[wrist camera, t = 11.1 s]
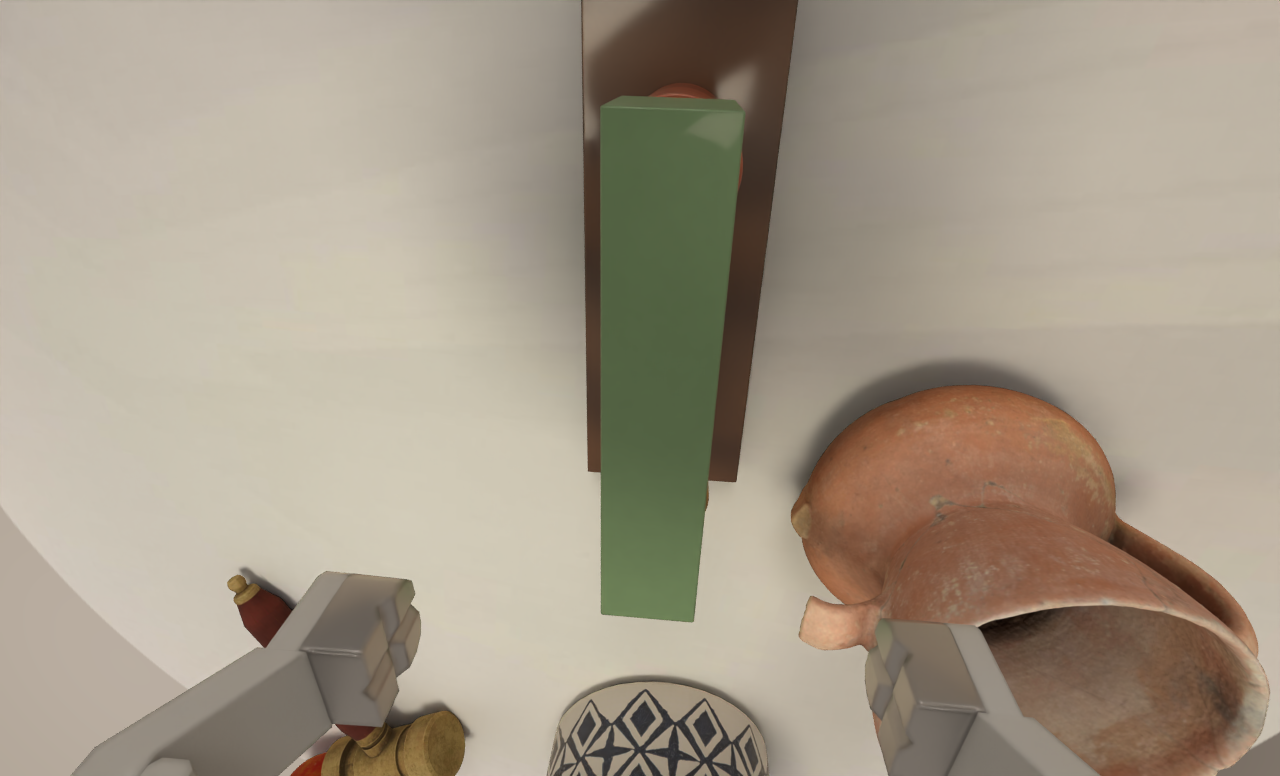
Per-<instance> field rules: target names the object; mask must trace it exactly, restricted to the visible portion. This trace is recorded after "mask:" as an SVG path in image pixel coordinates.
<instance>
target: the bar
mask: <svg viewBox="0 0 1280 776" xmlns="http://www.w3.org/2000/svg"><path fill="white" fill-rule="evenodd" d="M745 114H746V113H745V111H744V110H743V109H742V107H741V106H740V105H739V104H738V103H737V102H736V101H735V100H726V99H700V98H673V97H646V96H620V97H618V98H616V99H614V100H612V101H610V102H608V103H606V104H604V105H602V106H601V107H600V232H601V614H603V615H614V616H625V617H637V618H648V619H660V620H671V621H682V622H693V621H694V614H695V604H696V595H697V585H698V575H699V565H700V555H701V545H702V536H703V526H704V516H705V506H706V496H707V487H708V477H709V467H710V457H711V447H712V437H713V428H714V418H715V408H716V398H717V388H718V379H719V369H720V359H721V349H722V339H723V330H724V320H725V310H726V300H727V290H728V280H729V271H730V261H731V251H732V241H733V231H734V222H735V212H736V202H737V192H738V182H739V172H740V163H741V153H742V143H743V133H744V123H745Z"/></svg>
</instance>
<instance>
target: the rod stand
mask: <svg viewBox="0 0 1280 776" xmlns="http://www.w3.org/2000/svg"><path fill="white" fill-rule="evenodd" d="M797 5H798V0H581V19H582V90H583V161H584V232H585V303H586V375H587V446H588V471H589V472H601V232H600V107H601V106H602V105H604V104H606V103H608V102H610V101H612V100H614V99H616V98H618V97H620V96H646V97H673V98H700V99H726V100H735V101H736V102H737V103H738V104H739V105H740V106H741V107H742V109H743V110H744V111H745V113H746V114H745V123H744V133H743V143H742V153H741V163H740V172H739V182H738V192H737V202H736V212H735V222H734V231H733V241H732V251H731V261H730V271H729V280H728V290H727V300H726V310H725V320H724V330H723V339H722V349H721V359H720V369H719V379H718V388H717V398H716V408H715V418H714V428H713V437H712V447H711V457H710V467H709V477H708V480H710V481H724V482H736V480H737V472H738V464H739V456H740V449H741V441H742V433H743V425H744V418H745V410H746V402H747V394H748V386H749V379H750V371H751V363H752V355H753V348H754V340H755V332H756V324H757V316H758V309H759V301H760V293H761V285H762V278H763V270H764V262H765V254H766V247H767V239H768V231H769V223H770V215H771V208H772V200H773V192H774V184H775V177H776V169H777V161H778V153H779V145H780V138H781V130H782V122H783V114H784V107H785V99H786V91H787V83H788V75H789V68H790V60H791V52H792V44H793V37H794V29H795V21H796V13H797ZM708 500H709V486H708V487H707V496H706V506H705V511H706V508H707V506H708Z"/></svg>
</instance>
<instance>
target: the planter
mask: <svg viewBox="0 0 1280 776" xmlns="http://www.w3.org/2000/svg"><path fill="white" fill-rule="evenodd" d="M547 776H769V770H768V761H767V752H766V746H765V743H764V740H763V737H762V735H761V733H760V732H759V730H758V729H757V727H756V725H755V724H754V723H753V722H752V721H751V720H750V719H749V718H748V717H747V716H746V715H745V714H744V713H743V712H742V711H740V710H739V709H738V708H736V707H735V706H734V705H732V704H730V703H729V702H727V701H725V700H723V699H722V698H720V697H718V696H715V695H713V694H710V693H708V692H706V691H703V690H699V689H696V688H693V687H689V686H685V685H679V684H674V683H665V682H634V683H626V684H619V685H615V686H611V687H607V688H604V689H602V690H599V691H596V692H594V693H591V694H589V695H588V696H586V697H584V698H583V699H581V700H579V701H578V702H577V703H576V704H574V705H573V706H572V707H571V708H570V709H569V710H568V711H567V712H566V713H565V715H564V716H563V717H562V719H561V720H560V723H559V725H558V727H557V730H556V734H555V739H554V743H553V748H552V752H551V757H550V762H549V767H548V771H547Z"/></svg>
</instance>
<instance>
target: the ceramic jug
mask: <svg viewBox="0 0 1280 776" xmlns="http://www.w3.org/2000/svg"><path fill="white" fill-rule="evenodd" d="M1115 501H1116V495H1115V484H1114V478H1113V474H1112V471H1111V468H1110V465H1109V463H1108V461H1107V458H1106V456H1105V454H1104V452H1103V451H1102V449H1101V447H1100V446H1099V444H1098V443H1097V441H1096V440H1095V439H1094V437H1093V436H1092V435H1091V434H1090V433H1089V432H1088V431H1087V430H1086V429H1085V428H1084V427H1083V426H1082V425H1081V424H1080V423H1079V422H1077V421H1076V420H1075V419H1074V418H1072V417H1071V416H1070V415H1068V414H1067V413H1065V412H1064V411H1062V410H1060V409H1059V408H1057V407H1055V406H1053V405H1051V404H1049V403H1047V402H1045V401H1043V400H1040V399H1038V398H1035V397H1033V396H1030V395H1027V394H1024V393H1021V392H1017V391H1013V390H1008V389H1004V388H998V387H991V386H980V385H956V386H944V387H938V388H932V389H927V390H924V391H919V392H916V393H913V394H910V395H908V396H905V397H903V398H900V399H897V400H894V401H891V402H888V403H886V404H883V405H881V406H879V407H877V408H875V409H873V410H871V411H869V412H867V413H866V414H864V415H863V416H861V417H860V418H858V419H857V420H856V421H854V422H853V423H852V424H850V425H849V426H848V427H847V428H846V429H845V430H844V431H842V432H841V433H840V434H839V435H838V436H837V437H836V438H835V439H834V441H833V442H832V443H831V444H830V445H829V446H828V448H827V449H826V450H825V452H824V453H823V454H822V456H821V458H820V459H819V461H818V462H817V464H816V466H815V468H814V470H813V472H812V474H811V476H810V478H809V481H808V483H807V485H806V486H805V487H804V488H803V490H802V492H801V494H800V496H799V498H798V500H797V501H796V503H795V504H794V506H793V509H792V510H791V523H792V525H793V527H794V529H795V531H796V532H797V533H798V535H799V536H800V537H802V543H803V547H804V550H805V553H806V556H807V558H808V560H809V563H810V565H811V567H812V568H813V570H814V572H815V573H816V575H817V576H818V578H819V579H820V580H821V582H822V583H823V584H824V585H825V586H826V588H827V589H828V590H829V591H830V592H831V593H832V594H833V595H834V596H835V597H837V598H838V599H839V600H840V601H841V602H843V603H844V604H845V605H843V604H831V603H827V602H824V601H822V600H820V599H818V598H816V597H814V596H810V598H809V600H808V602H807V604H806V610H805V612H804V616H803V618H802V622H801V626H800V632H799V637H800V639H801V640H802V641H803V642H806V643H808V644H809V645H811V646H813V647H815V648H817V649H821V650H838V649H845V648H851V647H853V646H856V645H862V646H864V648H865V649H866V650H867V651H868V652H869V650H871V649H872V648H874V647H875V646H877V645H878V643H877V639H876V636H875V630H876V627H877V624H878V622H879V621H880V620H881V619H882V618H890V619H904V620H918V621H932V622H941V623H954V624H966V625H975V626H976V627H977V628H978V629H979V630H981V632H982V634H983V636H984V638H985V640H986V642H987V644H988V646H989V648H990V650H991V652H992V654H993V656H994V658H995V660H996V662H997V664H998V666H999V668H1000V670H1001V672H1002V674H1003V676H1004V678H1005V680H1006V682H1007V684H1008V686H1009V688H1010V690H1011V692H1012V694H1013V696H1014V698H1015V700H1016V702H1017V704H1018V706H1019V708H1020V710H1021V712H1022V714H1023V716H1024V717H1031V718H1034V719H1036V720H1037V721H1038V722H1039V723H1040V724H1041V725H1043V726H1044V727H1045V728H1046V729H1047V730H1048V731H1049V732H1051V733H1052V734H1053V735H1054V736H1055V737H1056V738H1058V739H1059V740H1060V741H1061V742H1062V743H1063V744H1065V745H1066V746H1067V747H1068V748H1069V749H1070V750H1072V751H1073V752H1074V753H1075V754H1076V755H1077V756H1079V757H1080V758H1081V759H1082V760H1083V761H1084V762H1086V763H1087V764H1088V765H1089V766H1090V767H1091V768H1092V769H1094V770H1095V771H1096V772H1097V773H1098V774H1099V775H1101V776H1216V775H1217V772H1218V771H1219V770H1221V769H1225V768H1229V767H1232V766H1233V765H1234V764H1235V763H1236V762H1237V761H1238V760H1239V759H1240V758H1241V757H1242V756H1243V755H1244V754H1245V753H1246V752H1247V751H1248V750H1249V749H1250V748H1251V746H1252V745H1253V744H1254V743H1255V741H1256V740H1257V738H1258V737H1259V735H1260V734H1261V732H1262V729H1263V726H1264V721H1265V717H1266V712H1267V708H1268V702H1269V694H1270V688H1269V684H1268V679H1267V677H1266V675H1265V671H1264V669H1263V668H1262V666H1261V664H1260V663H1259V661H1258V659H1257V656H1258V642H1257V638H1256V635H1255V632H1254V630H1253V627H1252V625H1251V623H1250V622H1249V620H1248V618H1247V616H1246V614H1245V612H1244V611H1243V609H1242V608H1241V606H1240V605H1239V604H1238V603H1237V601H1236V600H1235V599H1234V598H1233V597H1232V596H1231V594H1230V593H1228V592H1227V590H1226V589H1225V588H1224V587H1223V586H1222V585H1221V584H1220V583H1219V582H1218V581H1217V580H1215V579H1214V578H1213V577H1212V576H1210V575H1209V574H1208V573H1206V572H1205V571H1204V570H1202V569H1201V568H1200V567H1198V566H1197V565H1195V564H1194V563H1193V562H1191V561H1189V560H1188V559H1186V558H1185V557H1183V556H1182V555H1180V554H1178V553H1176V552H1174V551H1173V550H1171V549H1170V548H1168V547H1166V546H1165V545H1163V544H1161V543H1159V542H1158V541H1156V540H1154V539H1152V538H1151V537H1149V536H1147V535H1146V534H1144V533H1142V532H1141V531H1139V530H1137V529H1135V528H1134V527H1132V526H1130V525H1128V524H1127V523H1125V522H1123V521H1122V520H1121V519H1120V518H1119V517H1118V516H1117V515H1116V513H1115V509H1116V508H1115ZM872 713H873V719H874V725H875V729H876V734H877V735H878V732H879V729H880V726H881V723H882V721H881V720H880V719H879V718H878V716H877V715H876V714H875V713H874V712H873V711H872ZM877 738H878V736H877ZM878 741H879V739H878ZM879 744H880V743H879Z"/></svg>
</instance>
